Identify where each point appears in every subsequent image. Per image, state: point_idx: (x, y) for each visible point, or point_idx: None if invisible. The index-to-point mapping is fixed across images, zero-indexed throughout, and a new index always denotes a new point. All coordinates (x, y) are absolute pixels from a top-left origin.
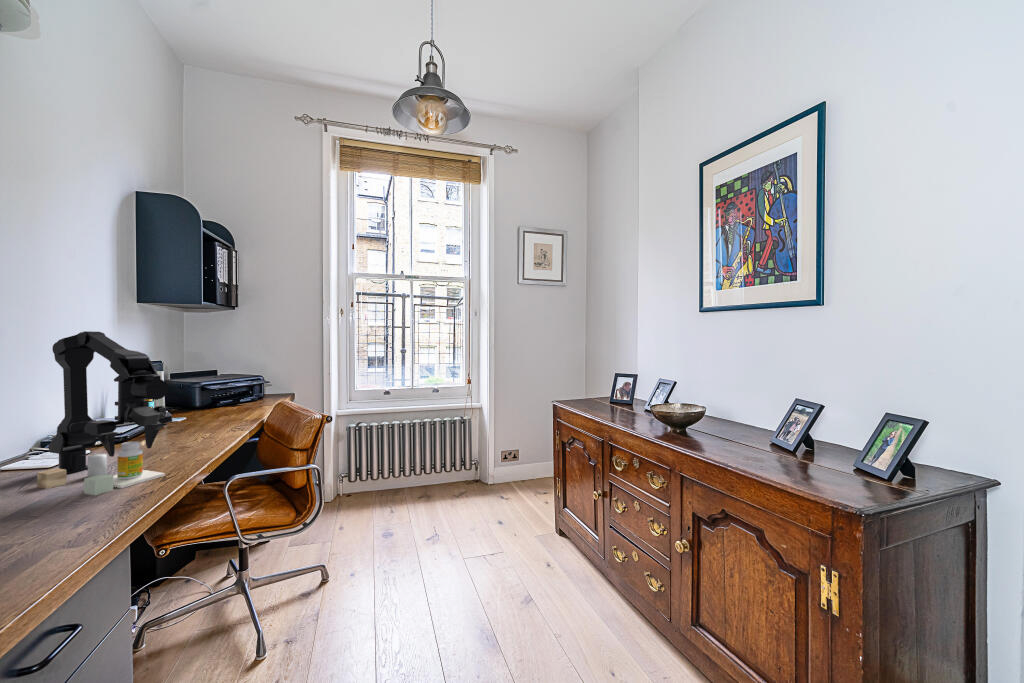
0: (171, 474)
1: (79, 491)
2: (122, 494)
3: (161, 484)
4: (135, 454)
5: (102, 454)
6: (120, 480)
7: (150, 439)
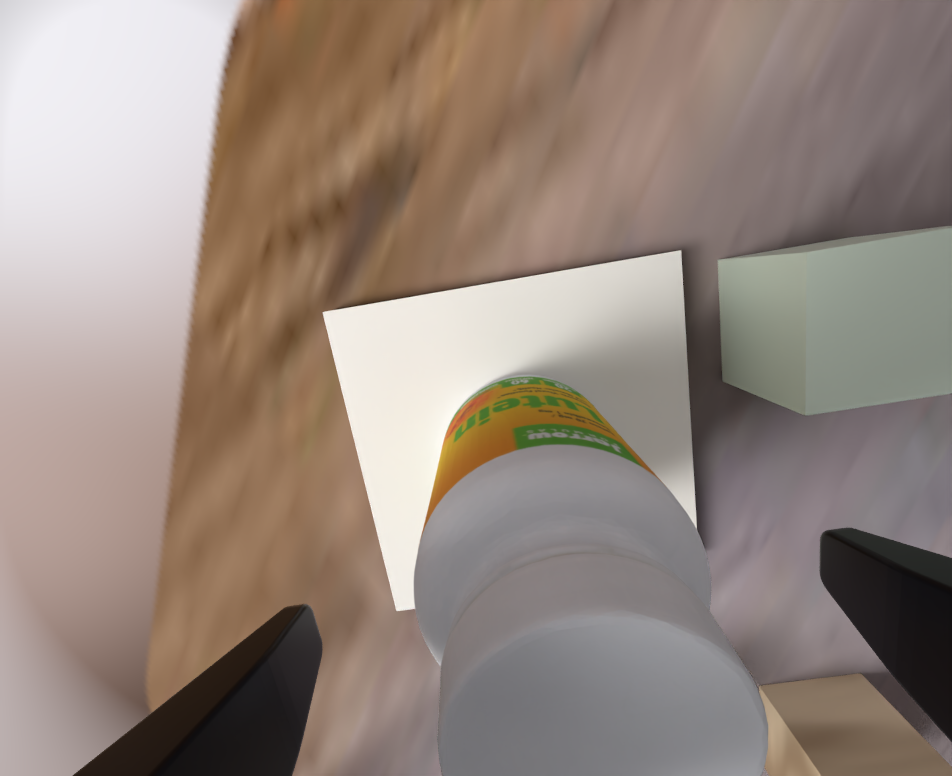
0: (280, 307)
1: (825, 444)
2: (754, 47)
3: (454, 51)
4: (563, 451)
5: None
6: (611, 405)
7: (209, 748)
